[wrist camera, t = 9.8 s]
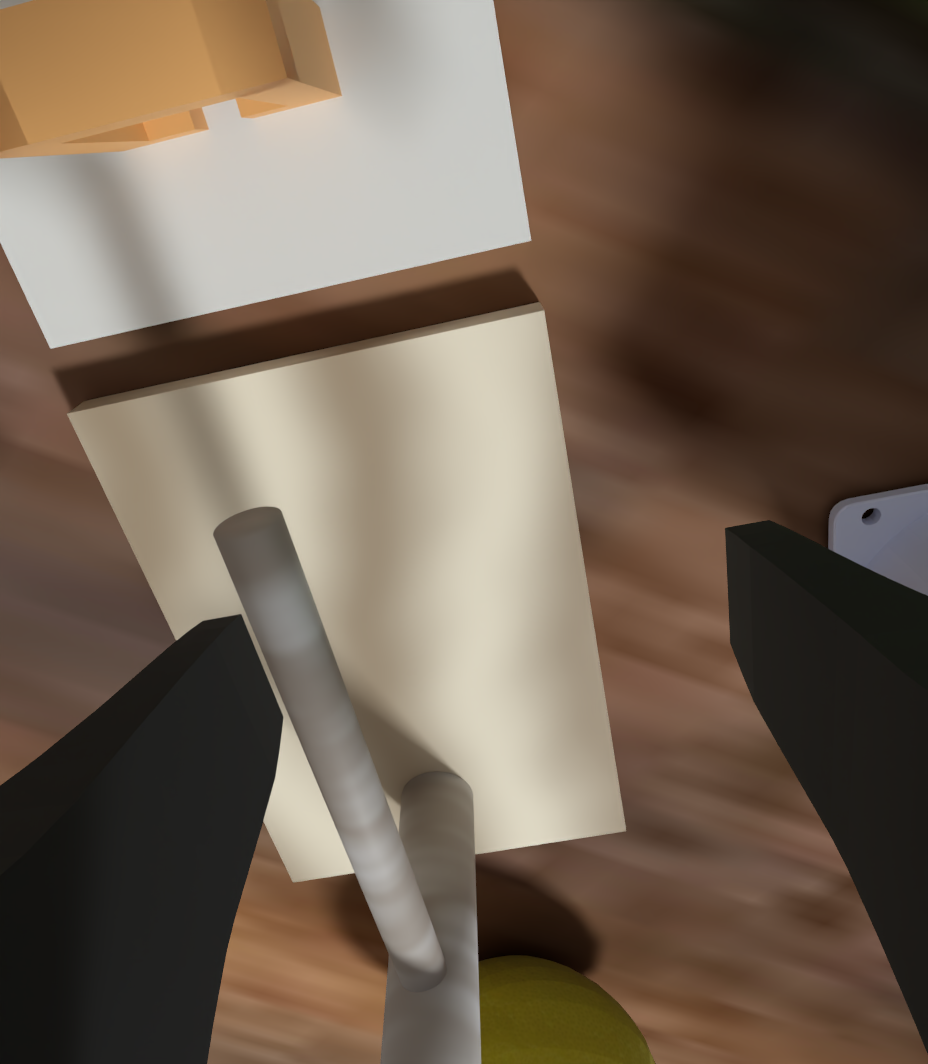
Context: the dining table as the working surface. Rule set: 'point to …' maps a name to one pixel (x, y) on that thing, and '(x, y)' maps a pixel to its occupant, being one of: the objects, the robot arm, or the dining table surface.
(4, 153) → the c link
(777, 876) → the dining table surface
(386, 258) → the grey mat
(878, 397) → the dining table surface
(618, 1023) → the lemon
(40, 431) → the dining table surface
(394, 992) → the hook stand
